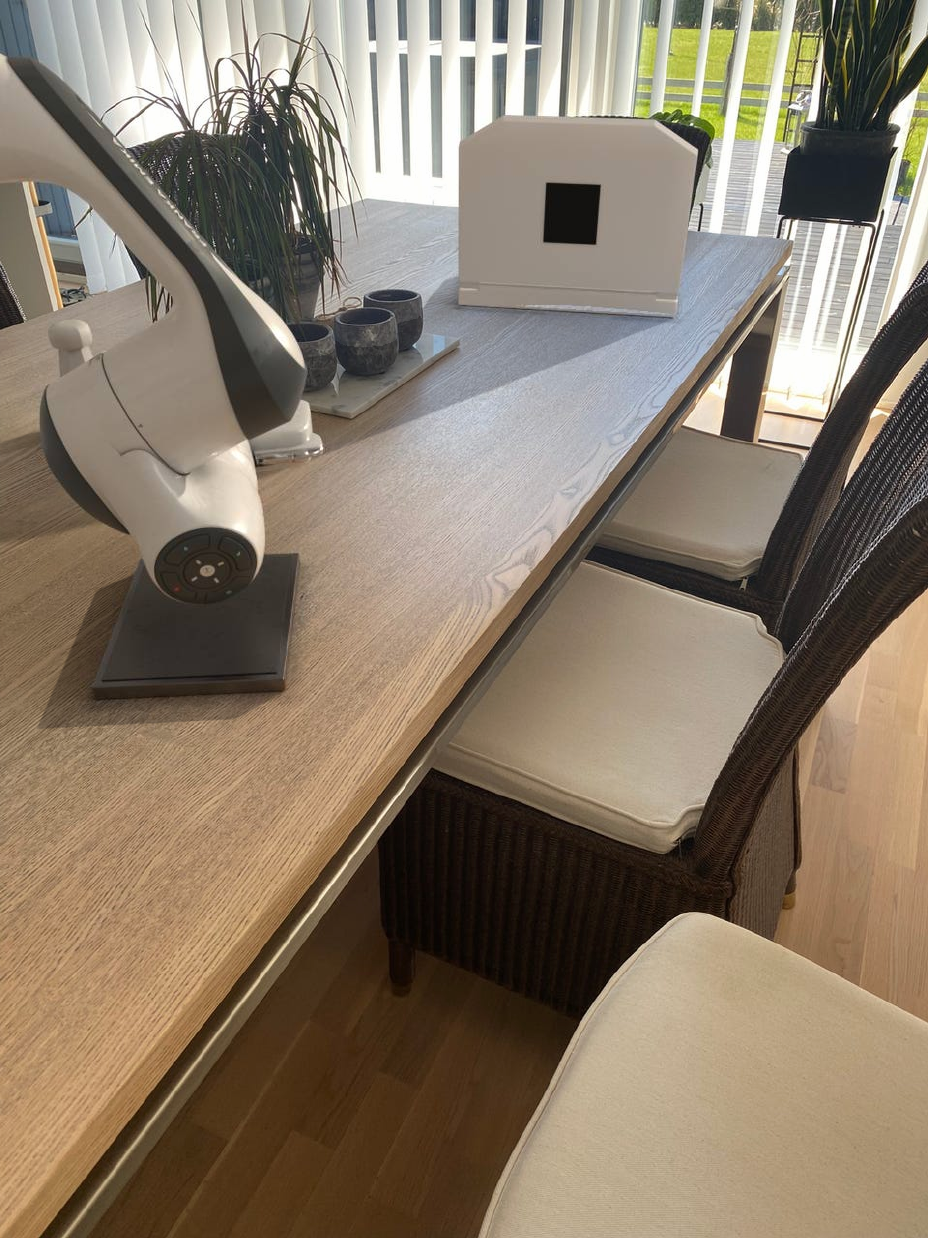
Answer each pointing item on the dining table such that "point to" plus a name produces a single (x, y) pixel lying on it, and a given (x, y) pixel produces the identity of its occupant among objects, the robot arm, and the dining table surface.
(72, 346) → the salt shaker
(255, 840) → the dining table surface
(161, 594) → the tablet
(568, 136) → the white chamfered box
